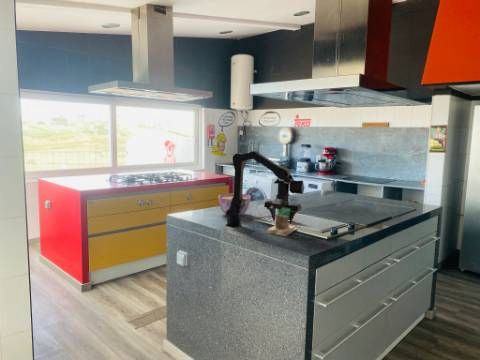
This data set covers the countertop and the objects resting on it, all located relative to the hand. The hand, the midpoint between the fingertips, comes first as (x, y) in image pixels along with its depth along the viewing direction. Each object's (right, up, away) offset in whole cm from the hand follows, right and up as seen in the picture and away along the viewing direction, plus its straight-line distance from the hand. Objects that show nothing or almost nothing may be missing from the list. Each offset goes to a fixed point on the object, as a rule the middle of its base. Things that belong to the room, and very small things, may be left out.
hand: (282, 222), depth 193 cm
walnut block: (0, -3, +1) cm, 3 cm away
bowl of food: (-25, 0, +35) cm, 43 cm away
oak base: (0, -5, +1) cm, 5 cm away
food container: (+3, -2, +24) cm, 24 cm away
